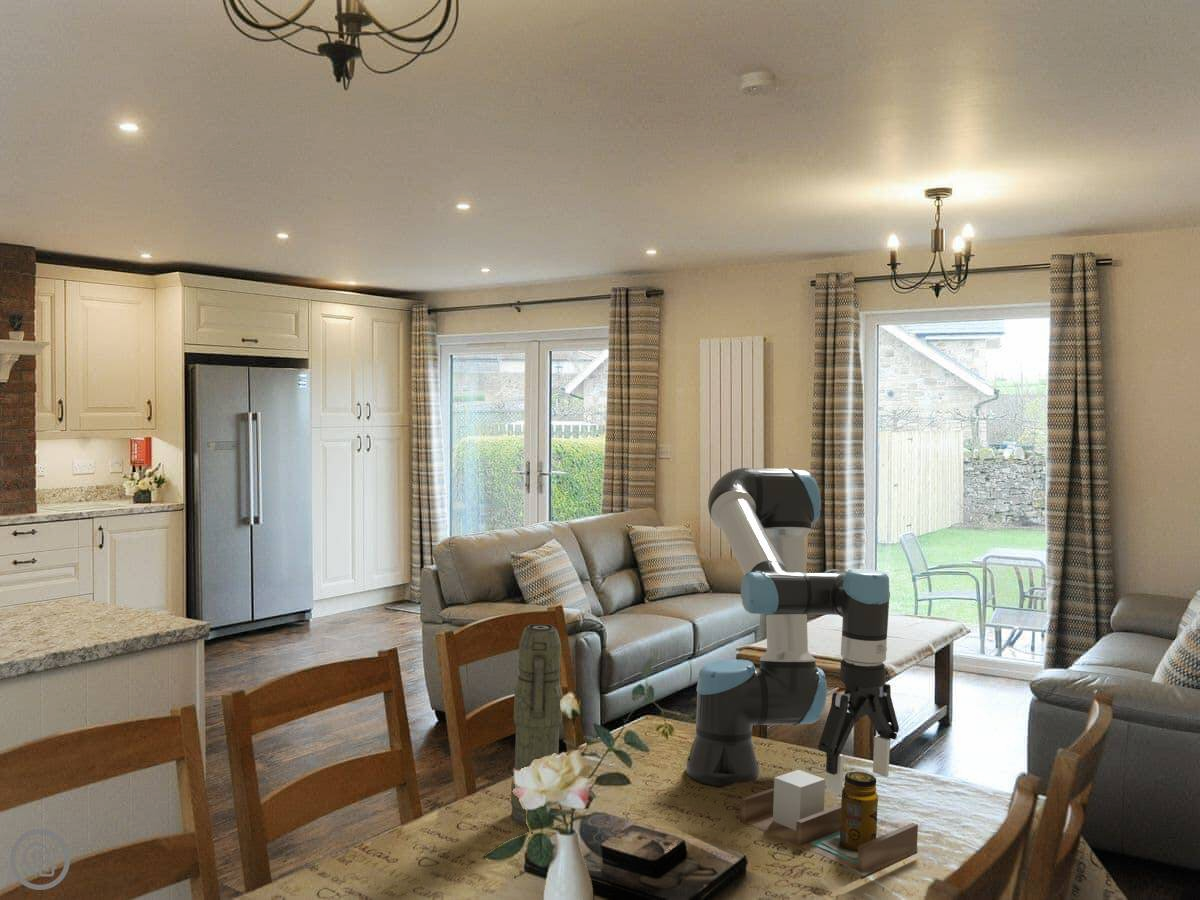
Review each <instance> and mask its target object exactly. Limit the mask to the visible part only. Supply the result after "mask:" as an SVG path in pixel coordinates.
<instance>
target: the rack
mask: <svg viewBox="0 0 1200 900" xmlns="http://www.w3.org/2000/svg"><path fill="white" fill-rule="evenodd" d="M773 802H774V787H771V788H769V789H765V790H763V791H760V792H757V793H754V794H751V795H748V796H745V797H742V798H741V800H740V804H741V805H740V821H741V822H744V823H746V824H748V825H750V826H752V827H754V828H757V829H760V830H762V831H763V832H767V833H769V834H771V835H773V836H776V837H778V838H781V839H783V840H784V841H788V842H790V843H792V844H794V845H796V846H799V847H801V848H803V849H806V850H807V851H811V852H813V853H815V854H817V855H820V856H822V857H824V858H827V859H829V860H831V861H834V862H836V863H839V864H841V865H843V866H845V867H848V868H849V869H852V870H854V871H856V872H859V873H861V874H864V873H866V872H868V871H870V870H873V869H875V868H877V867H879V866H881V865H883V864H885V863H887V862H890V861H892V860H894V859H896V858H898V857H901V856H903V855H905V854H907V853H909V852H911V851H914V850H916V849H917V848H918V831H919V828H918V827H919V824H917V823H915V822H911V823H908V824H906V825H904V826H901V827H899V828H897V829H895V830H893V831H890V832H888V833H885V834H884V833H881V832H878V831H877V835H876V839H874V840H871V841H869V842H867V843H864V844H862V845H860V846H858V857H857V858H854V859H853V858H851V857H849V856H846V855H845V854H843V853H839V852H838V851H836V850H834V849H832V848H831V847H829V846H827V845H825V844H824V843H822V842H821V841H824V840H829V839H832V838H834V837H840V824H841V804H838V805H836V806H833V807H830V808H827V809H824V811H822V812H819V813H816V814H814V815H811V816H808V817H806V818H803V819H800V820H798V821H797V822H796V831H795V830H793V829H791V828H788V827H786V826H783V825H781V824H779V823H776V822H774V821H773ZM917 854H918V851H915V852H913V853H910V854H909V855H905V856H904V857H902V858H900V859H898V860H895V861H893V862H891V863H889V864H887V865H884V866H883V867H880V868H878V869H876V870H874V871H872V872H868V874H865V875H862V876H861V877H860V879H861V880H863V879H865V878H867V876H868V877H870V876H871V875H874V874H875V873H877V872H880V871H883V870H884V869H887V868H888V867H891V866H893V865H895V864H897V863H900V862H903V860H906V859H908V858H910V857H912V856H914V855H917Z"/></svg>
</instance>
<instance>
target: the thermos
mask: <svg viewBox="0 0 1200 900" xmlns="http://www.w3.org/2000/svg"><path fill="white" fill-rule="evenodd" d="M561 642H562V641H561V638H560V635H559V632H558V628H556V627H554V625H551V624H546V623H545V624H544V623H543V624H542V623H534V624H529V625H527V626H526V627H524V628H523V631H522V634H521V636H520V639H519V642H518V643H519V647H518V670H519V675H518V676H517V677H518V679H517V685H516V688H515V691H514V696H513V697H514V699H513V702H514V703H513V721H514V725H515V749H514V750H515V752H514V753H515V754H514V771H515V770H516V769H521V768H524V767H527V766H529V765H530V764H531V762H532V761H533V760H534V759H538V758H541V757H544V756H547V755H550V754H553V753H558V754H559V747H560V745H559V743H560V741H559V740H560V726H561V724H562V721H563V711H562V712H561V710H560V700H561V699H562V698H564V694H563V693H564V692H563V690H562V686H561V677H560V670H561V658H562V656H561V653H562V650H561V649H562V643H561ZM510 788H511V790H510V805H511V813H510V815H511V816H510V817H511V820H512V821H513V822H514V823H516V824H518V825H521V826H524V827H528V826H527V824H526V810H525V809H523V808H522V806H521V804H520V802H519V798H518V797H517V796H515V795H514V794H513V792H512V791H513V789H514V788H515V784H514V782H513V780H512V782H511V787H510Z"/></svg>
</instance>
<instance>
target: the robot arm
mask: <svg viewBox="0 0 1200 900" xmlns="http://www.w3.org/2000/svg"><path fill="white" fill-rule="evenodd" d="M707 499H708V500H707V502H708V503H707V508H708V513H709V516H710V518H711V520H712V522H713V524H714V525H715V526H716V527H717V528H719V530H722V532H723V534H724V536H725V538H726V540H727V542H728V544H729V547H730V548H731V550H732V552H733V554H734V557H735V559H736V561H737V563H738V565H739V567H740V569H741V572H742V573H743V577H742V579H741V584H740V597H741V602H742V606H743V609H744V610H745V611H746V612H747V613H749V614H754V615H755V614H756V615H764V616H765V619H766V620H765V621H766V623H765V625H766V650H765V652H764V654H763V655H762V656H761V657H759V667H756V666H755V664H754V663H753V662H752V661H751V660H746V659H736V658H729V659H728V658H727V659H726V658H725V659H719V660H715V661H712V662H708V663H706V664H705V665H702V667H701V668H700V669H699V671H698V677H697V685H696V690H695V691H696V692H697V693H696V714H695V715H696V718H695V721H696V722H695V725H696V726H695V729H696V730H695V737H694V740H693V742H692V746H691V749H690V751H689V754H688V755H689V756H688V757H687V759H686V765H685V766H686V768H685V770H686V771H685V772H686V775H687V776H688V777H689V778H691V779H692V780H695V781H696V782H699V783H701V784H706V785H708V786H715V787H728V786H731V785H733V784H738V783H739V784H740V783H746V782H747V783H748V782H750V781H752V780H755V779H756V778H758V777H759V776H760V765H759V762H758V761H757V756H756V751H755V749H754V748H755V747H754V743H753V726H777V725H778V726H781V725H784V726H785V725H787V726H789V725H793V726H796V727H797V726H800V725H811V724H814V723H816V722H817V721H818V720H820V718H821V716H822V714H823V713H824V711H825V710H824V709H825V707H826V703H827V696H828V695H827V693H828V685H827V680H826V674H825V672H824V671H823V669H822V668H820V667H818V666H817V665H816V658H815V657H814V656H813V655H812V654H811V653H810V652H809V647H808V645H809V644H808V643H809V641H808V639H809V638H808V619H807V618H808V615H809V616H810V615H814V616H815V615H823V616H824V615H827V616H829V615H832V616H833V615H835V616H840V617H841V618H842V625H841V626H842V627H841V629H842V630H841V641H840V642H841V643H840V645H841V646H840V656H841V657H842V660H841V661H840V667H839V668H840V669H839V680H840V681H841V682H842V683H843V684H844V687H845V689H844V692H843V693H838V692H833V693H832V696H831V705H830V709H829V712H828V714H827V717H826V722H825V723H824V727H823V731H822V734H821V736H820V740H819V743H818V747H817V750H818V751H820V752H822V753H825V754H826V761H825V763H826V764H825V771H826V777H825V790H826V791H829V792H832V793H834V794H835V795H836V794H837V795H838V796H840V795H842V790H843V785H844V781H843V779H844V761H845V760H844V757H845V756H844V754H841V753H842V751H843V749H844V747H845V745H846V743H847V741H848V739H849V736H850V734H851V732H852V730H853V729H854V726H855V724H856V723H858V722H860V720H861V718H863V717H865V716H868V718H869V720H870V722H871V724H872V726H873V727H874V730H875V731H876V734H878V735H874V737H873V757H872V758H873V759H872V760H873V762H872V773H874V774H877V775H879V776H882V777H885V778H887V777H889V769H890V752H891V740H894V741H895V740H896V739H897V737H898V735H897V733H899V731H900V726H899V723H898V720H897V716H896V711H895V707H894V704H893V699H892V697H891V694H892V693H891V688H892V687H891V684H889V683H886V671H887V670H886V669H887V665H886V664H885V661H886V660H887V652H888V651H887V650H888V648H887V643H888V642H887V640H888V639H887V638H888V626H889V625H888V624H889V611H890V600H891V599H890V598H891V591H890V577H889V575H888V574H887V573H886V572H884V571H880V570H876V569H870V568H869V569H867V568H853V569H849V570H847V571H845V570H839V569H828V570H825V571H822V572H807V571H806V544H805V543H806V540H805V539H806V537H807V536H808V535H809V534H810V533H811V532H812V525H813V524H815V523H817V522H818V521H819V519H820V515H821V509H822V508H821V507H822V500H821V493H820V489H819V484H818V483H817V481H816V479H815V478H814V476H813V475H812V474H811V473H810V472H808V471H807V470H803V469H793V468H758V467H757V468H753V467H742V468H736V469H733V470H730V471H728V472H727V473H725V474H724V475H722V476H721V477H720V478H719V479H717V481H716V482H715V483H714V484H713V486H712V488H711V490H710V493H709V495H708V498H707Z"/></svg>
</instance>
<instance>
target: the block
mask: <svg viewBox="0 0 1200 900" xmlns="http://www.w3.org/2000/svg"><path fill="white" fill-rule="evenodd" d="M773 788H774V802H773V821H774V822H776V823H779V824H781V825H783V826H786V827H788V828H791V829H793V830H795V831H796V822H797V821H798V820H800V819H803V818H806V817H808V816H811V815H814V814H816V813H819V812H822V811H824V810H825V792H826V791H825V790H826V778H823V777H820V776H817V775H815V774H812V773H809V772H806V771H804V770H800V769H796V770H793V771H790V772H788V773H783V774H781V775H777V776H774V778H773Z"/></svg>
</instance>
